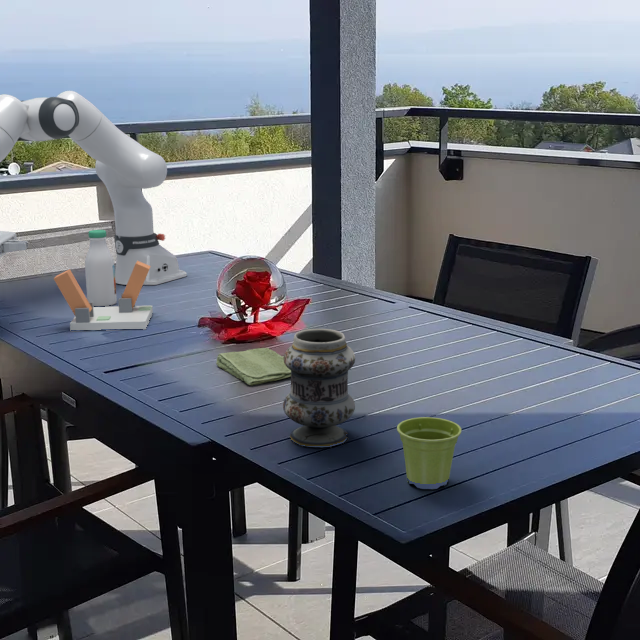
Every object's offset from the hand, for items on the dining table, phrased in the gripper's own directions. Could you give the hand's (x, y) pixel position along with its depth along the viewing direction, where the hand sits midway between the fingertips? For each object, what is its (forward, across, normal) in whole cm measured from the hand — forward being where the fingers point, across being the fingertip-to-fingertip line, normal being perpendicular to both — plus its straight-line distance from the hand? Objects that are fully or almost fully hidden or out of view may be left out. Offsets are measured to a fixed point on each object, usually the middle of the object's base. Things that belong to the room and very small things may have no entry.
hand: (27, 245), depth 216 cm
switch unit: (+18, +5, +20) cm, 28 cm away
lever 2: (+21, +9, +17) cm, 29 cm away
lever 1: (+12, 0, +17) cm, 21 cm away
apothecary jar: (+64, -75, +21) cm, 101 cm away
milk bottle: (+13, +24, +20) cm, 34 cm away
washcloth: (+54, -38, +21) cm, 70 cm away
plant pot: (+79, -94, +21) cm, 125 cm away
